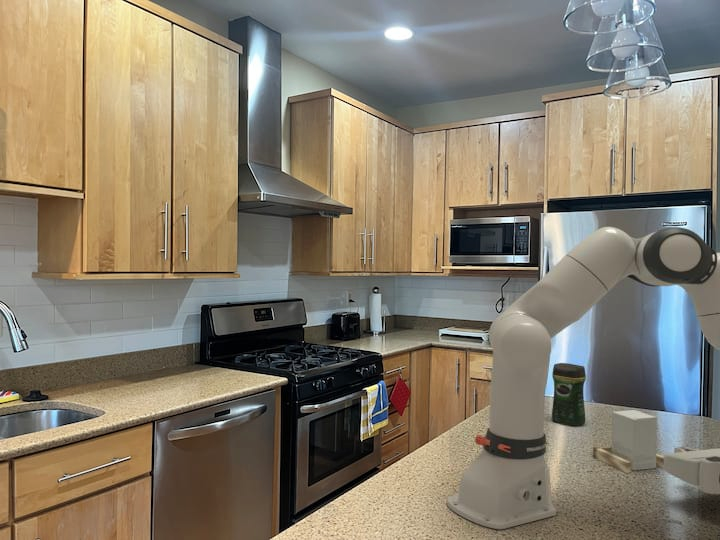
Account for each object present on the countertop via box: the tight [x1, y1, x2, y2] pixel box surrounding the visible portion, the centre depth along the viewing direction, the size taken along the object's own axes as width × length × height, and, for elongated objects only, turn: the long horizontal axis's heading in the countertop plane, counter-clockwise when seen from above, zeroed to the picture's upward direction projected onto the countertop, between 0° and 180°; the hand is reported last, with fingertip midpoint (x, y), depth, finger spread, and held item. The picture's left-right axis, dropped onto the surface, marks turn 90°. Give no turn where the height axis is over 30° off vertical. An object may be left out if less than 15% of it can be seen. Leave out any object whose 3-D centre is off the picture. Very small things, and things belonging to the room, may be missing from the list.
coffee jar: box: [551, 362, 587, 427], centre depth 169 cm, size 10×8×19 cm
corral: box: [592, 444, 665, 474], centre depth 135 cm, size 11×12×2 cm
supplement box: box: [611, 409, 658, 471], centre depth 134 cm, size 7×7×13 cm
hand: (679, 450), depth 121 cm, fingers closed
